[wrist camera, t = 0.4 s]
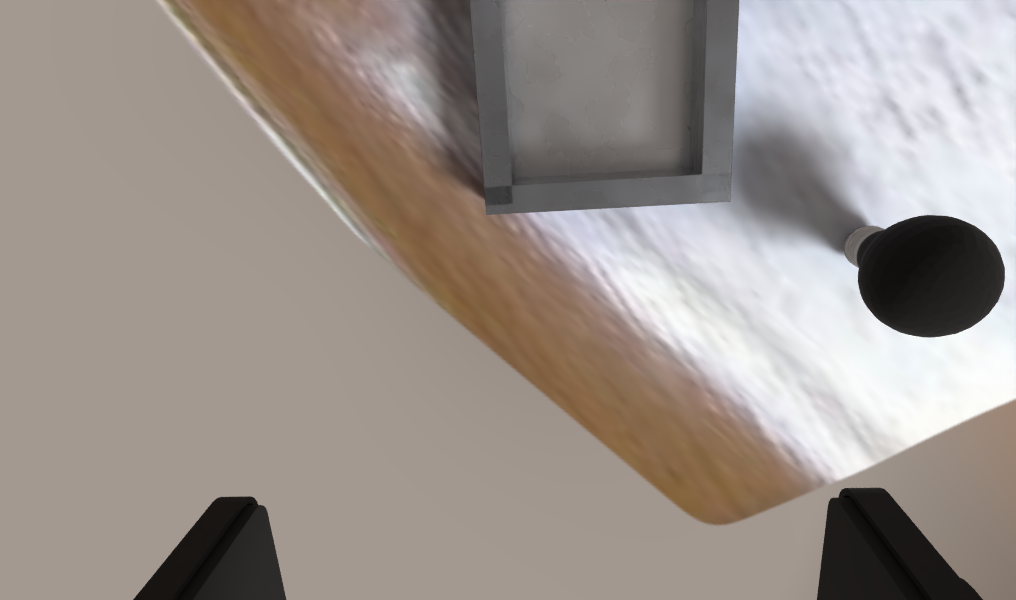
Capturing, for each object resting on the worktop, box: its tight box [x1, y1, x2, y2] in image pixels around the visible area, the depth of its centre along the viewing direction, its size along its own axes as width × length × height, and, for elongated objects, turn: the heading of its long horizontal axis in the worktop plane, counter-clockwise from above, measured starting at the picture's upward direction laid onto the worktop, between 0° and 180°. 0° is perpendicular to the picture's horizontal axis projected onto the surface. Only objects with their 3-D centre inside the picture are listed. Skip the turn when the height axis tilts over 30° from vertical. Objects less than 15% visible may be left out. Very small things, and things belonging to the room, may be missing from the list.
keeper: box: [470, 0, 739, 215], centre depth 32 cm, size 13×16×7 cm
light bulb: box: [844, 215, 1005, 337], centre depth 32 cm, size 6×6×10 cm
